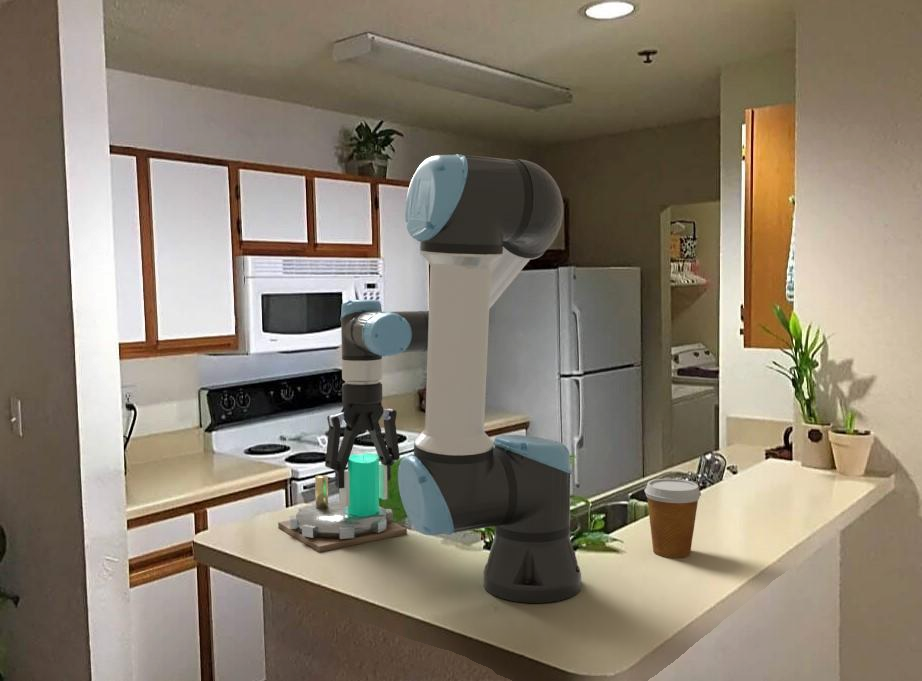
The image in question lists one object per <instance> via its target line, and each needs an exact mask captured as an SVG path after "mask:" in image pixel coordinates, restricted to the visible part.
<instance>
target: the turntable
mask: <svg viewBox="0 0 922 681" xmlns="http://www.w3.org/2000/svg"><path fill="white" fill-rule="evenodd" d="M314 479H315V480H314V481H315V482H314V483H315V504H314V505H306V506H303V507H299V508H298V512H297V513H296V514H295V515H294V514H293V515H289V520H290V529H297V530H298V531H300V532H302V536H307V537H311V538H314V537H316V536H317V537H327V538H340V539H347V538H354V536H360V535H365V534H369V533H373V532H376V533H379V532H381V531H384V530H386V529H387V522H393V521H394V520H393V518H394V517H393V516H394V514H393V513H394V512H393V510H392V509H391V508H384V507H382V506H380V505H379V512H378V513H376V514H374V515H370V516H355V515H351V514H350V513H348V506H344V505H342V504H340V501H339V500H333V501H330V502H329V489H328V488H329V485H328V484H329V480H328V479H329V478H328V475H324V474H323V475H321V474H320V475H315V477H314Z"/></svg>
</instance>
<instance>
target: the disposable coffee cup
mask: <svg viewBox="0 0 922 681" xmlns="http://www.w3.org/2000/svg"><path fill="white" fill-rule="evenodd" d="M645 487H646V488H644V493H645V496H646V498H647V506H648V508H647V509H648V514H649V523H650V524H649V527H650V535H651V543H652V551H653V553H654V554H656V555H658V556H660V557H665V558H670V559H680V558H686V557H689V556H690V555H691V551H692V544H693V537H694V531H695V530H694V529H695V522H696V517H697V509H698V503H699V500H700V498H701V496H702V492H701V491H700V489H699V485H698V484H697V483H695V482H693V481H690V480H686V479H679V478H656V479H652V480H649V481H648V482H647V484H646V486H645Z"/></svg>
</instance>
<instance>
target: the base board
mask: <svg viewBox="0 0 922 681" xmlns="http://www.w3.org/2000/svg"><path fill="white" fill-rule="evenodd" d="M277 524H278V528H279V529H280V530H282V531H283V532H285V533H287V534H289V535H290V536H292V537H294V538H295V539H297V540H298V541H300V542H302V543H303V544H306V545H307V546H308V547H310V548H311V549H313V550H315V551H317V552H318V553H321V552H326V551H331V550H335V549H341V548H345V547H350V546H354V545H355V546H356V545H359V544H364V543H369V542H374V541H378V540H379V541H380V540H385V539H388V538H394V537H398V536H404V535H407V534H408V529H407V527H404V526H402V525H400V524H398V523H395V522H387V529H386V530H384V531H381V532H379V533H376V532H373V533H369V534H365V535H360V536H354V538H347V539H340V538H327V537H317V536H316V537H314V538H311V537H307V536H302V532H300V531H298V530H297V529H290V519H288V520H284V521H278V523H277Z"/></svg>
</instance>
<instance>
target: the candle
mask: <svg viewBox="0 0 922 681" xmlns="http://www.w3.org/2000/svg"><path fill="white" fill-rule="evenodd" d="M364 452H365V451H364V449H362V454H350V457H349V460H348V463H347V471H349V485H350V506H348V513H350V514H351V515H355V516H370V515H374V514H376V513H378V512H379V506H380V498H379V463H380V459H379V456H378V454H375V453H373V452H371V453H369V452H365V453H364Z"/></svg>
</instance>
